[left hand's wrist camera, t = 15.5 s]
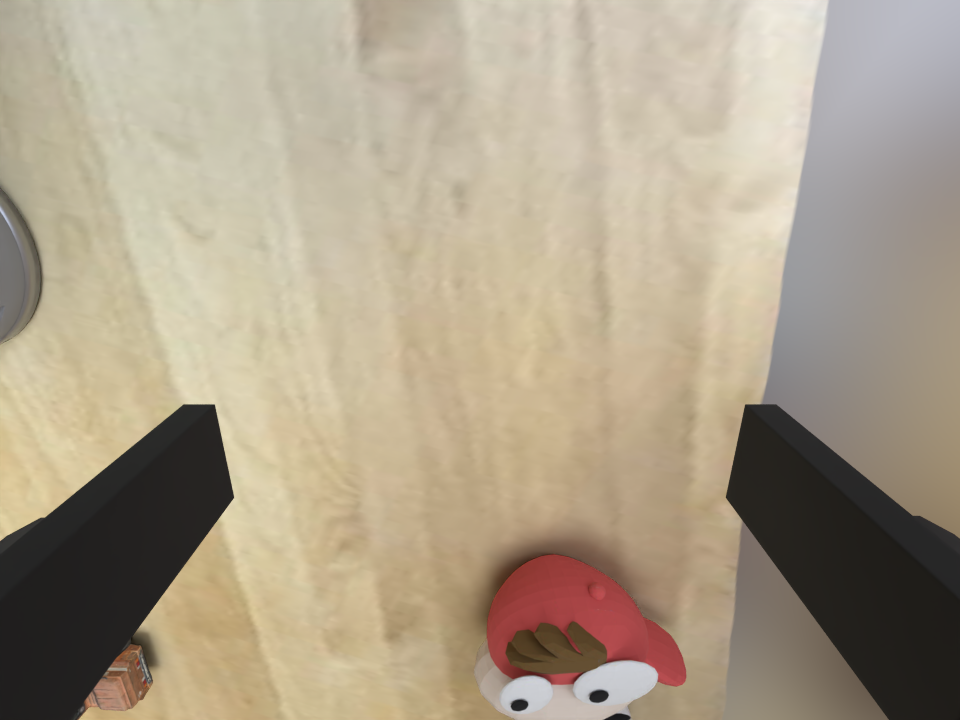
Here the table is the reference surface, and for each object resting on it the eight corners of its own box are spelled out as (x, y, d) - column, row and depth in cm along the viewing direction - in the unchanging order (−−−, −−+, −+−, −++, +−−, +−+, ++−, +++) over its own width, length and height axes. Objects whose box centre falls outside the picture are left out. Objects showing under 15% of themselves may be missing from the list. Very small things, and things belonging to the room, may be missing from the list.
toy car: (167, 671, 50) (121, 745, 44) (52, 682, 51) (-10, 757, 45) (143, 623, 48) (91, 694, 42) (23, 635, 49) (-47, 708, 42)
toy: (482, 854, 48) (477, 661, 34) (473, 735, 57) (466, 543, 43) (670, 829, 50) (739, 634, 36) (632, 717, 59) (676, 526, 45)
